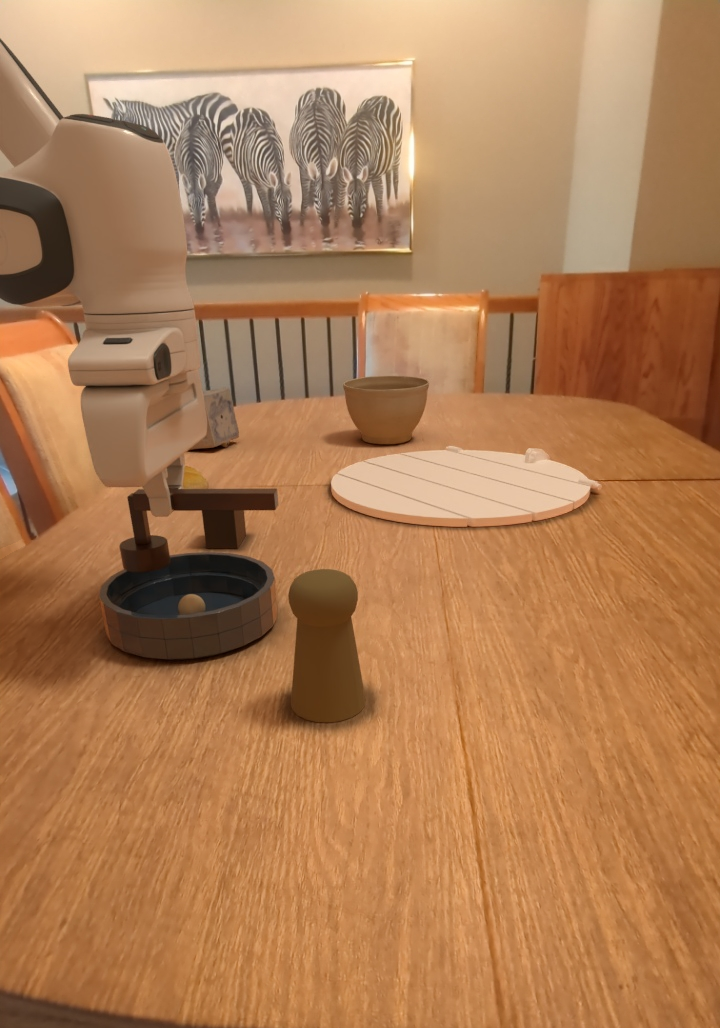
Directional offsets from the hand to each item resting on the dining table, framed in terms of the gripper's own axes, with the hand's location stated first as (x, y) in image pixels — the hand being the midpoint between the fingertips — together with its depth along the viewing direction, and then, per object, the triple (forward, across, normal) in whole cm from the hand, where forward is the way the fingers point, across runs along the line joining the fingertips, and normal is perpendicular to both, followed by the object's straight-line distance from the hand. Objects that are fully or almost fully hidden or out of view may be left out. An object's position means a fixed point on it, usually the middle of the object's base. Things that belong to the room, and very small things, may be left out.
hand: (168, 509), depth 69 cm
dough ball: (+10, 0, +1) cm, 10 cm away
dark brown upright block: (+12, -24, -2) cm, 27 cm away
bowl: (+12, 0, +1) cm, 12 cm away
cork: (+12, +14, +16) cm, 24 cm away
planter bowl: (+12, -83, +16) cm, 85 cm away
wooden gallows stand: (+5, 0, +2) cm, 6 cm away
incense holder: (+12, -78, -18) cm, 81 cm away
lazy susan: (+12, -50, +29) cm, 59 cm away
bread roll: (+12, -46, -14) cm, 50 cm away
